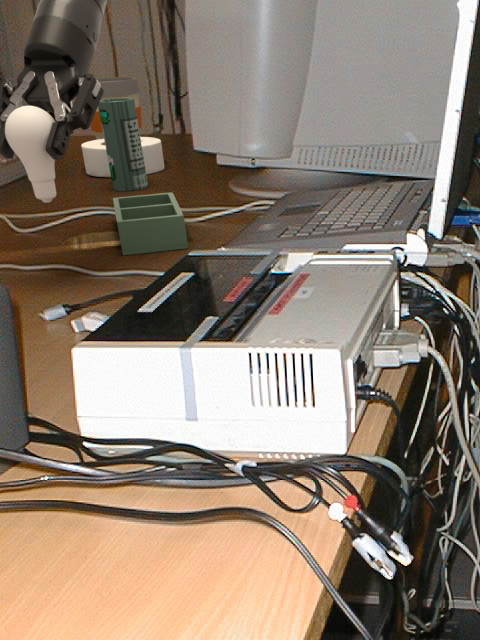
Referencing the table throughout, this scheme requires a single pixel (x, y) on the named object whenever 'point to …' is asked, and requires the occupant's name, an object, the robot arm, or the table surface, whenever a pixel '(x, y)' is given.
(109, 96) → the reusable coffee cup
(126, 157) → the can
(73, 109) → the robot arm
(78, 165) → the table surface
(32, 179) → the lightbulb
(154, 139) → the tape roll
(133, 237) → the rack
